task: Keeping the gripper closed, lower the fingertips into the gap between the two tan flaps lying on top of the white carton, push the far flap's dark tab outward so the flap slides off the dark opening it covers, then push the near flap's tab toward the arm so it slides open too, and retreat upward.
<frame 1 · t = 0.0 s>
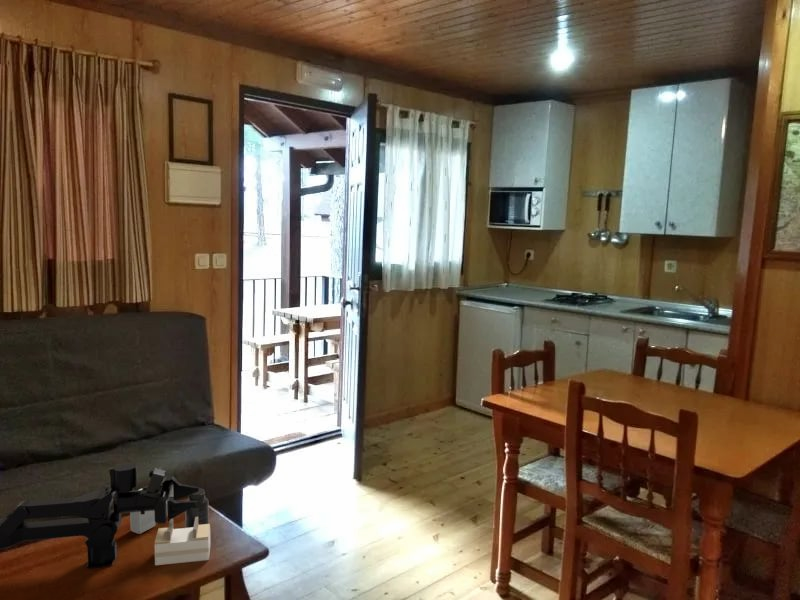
hand: (197, 496, 173), 17 cm above the table, tool horizontal, fingers open, 9 cm apart
flap near: (164, 530, 171), point 8 cm above the table, slide at 0.0 cm
carton: (183, 555, 174), on the table
supplement bottle: (197, 529, 189), on the table
skincare box: (143, 529, 188), on the table
flap far: (201, 527, 174), point 8 cm above the table, slide at 0.0 cm
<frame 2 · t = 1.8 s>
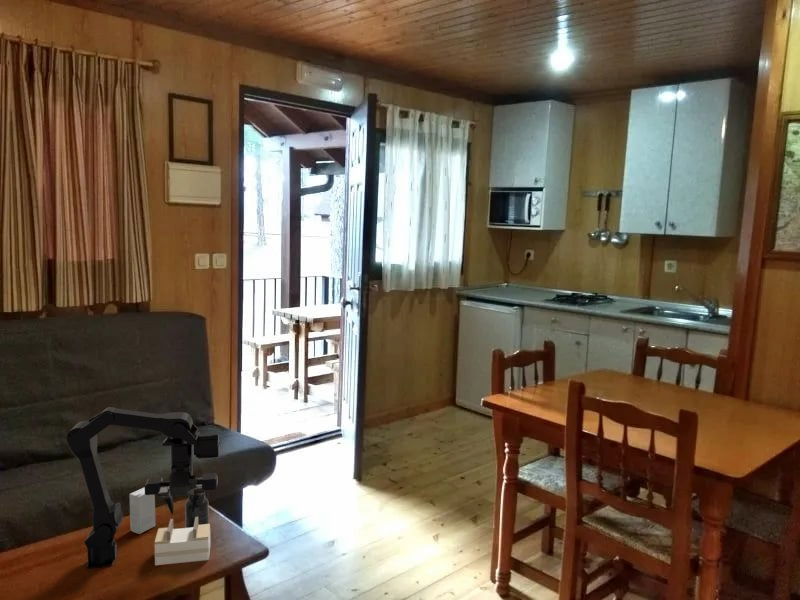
hand: (182, 512, 172), 13 cm above the table, tool pointing down, fingers open, 5 cm apart
nothing on the table moved.
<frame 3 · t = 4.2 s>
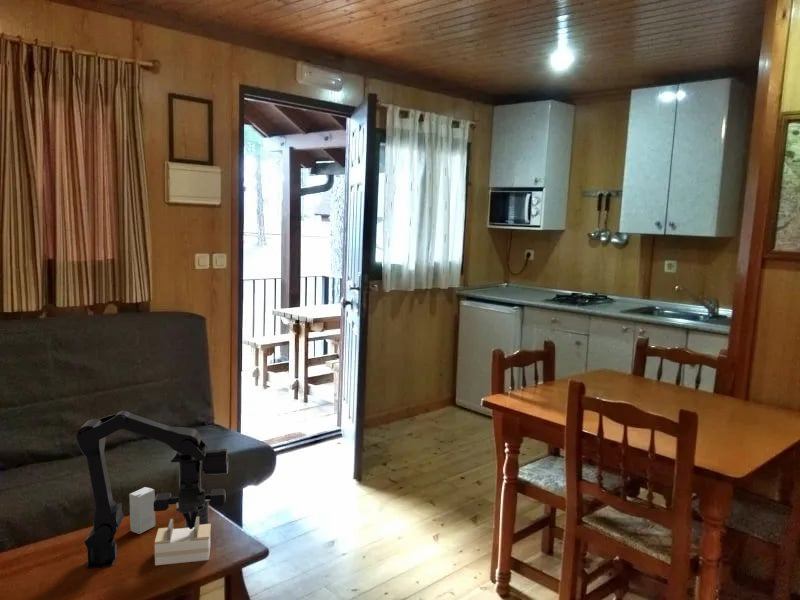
hand: (191, 528, 173), 8 cm above the table, tool pointing down, fingers closed
flap far: (202, 527, 174), point 8 cm above the table, slide at 0.3 cm, touching gripper
everything else where it was.
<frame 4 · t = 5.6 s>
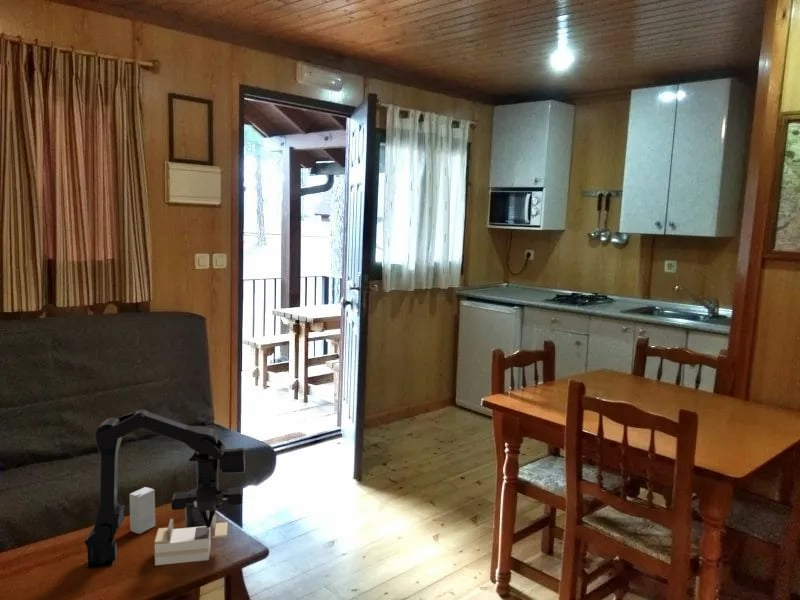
hand: (208, 526, 174), 8 cm above the table, tool pointing down, fingers closed
flap far: (219, 525, 175), point 8 cm above the table, slide at 4.9 cm, touching gripper
everything else where it was.
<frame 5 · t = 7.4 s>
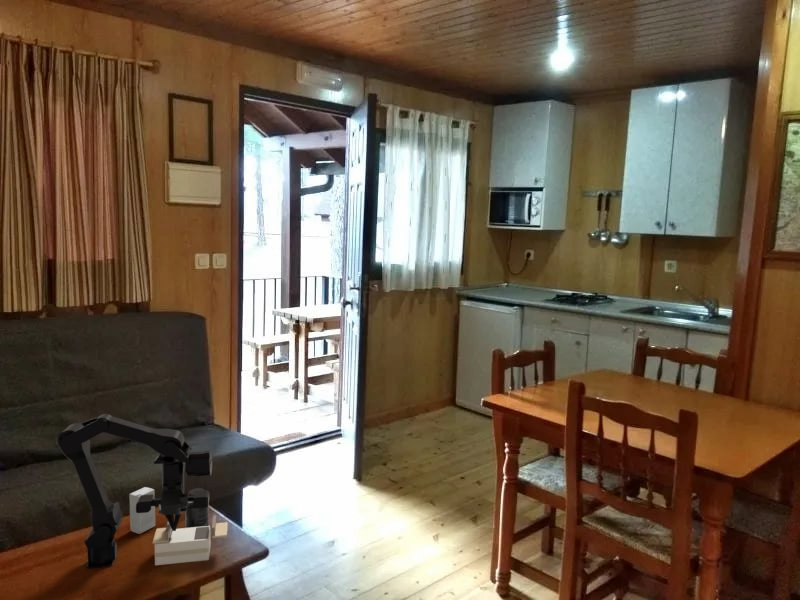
hand: (174, 530, 172), 8 cm above the table, tool pointing down, fingers closed
flap near: (162, 531, 171), point 8 cm above the table, slide at 0.5 cm, touching gripper
flap far: (219, 525, 175), point 8 cm above the table, slide at 4.9 cm
everything else where it was.
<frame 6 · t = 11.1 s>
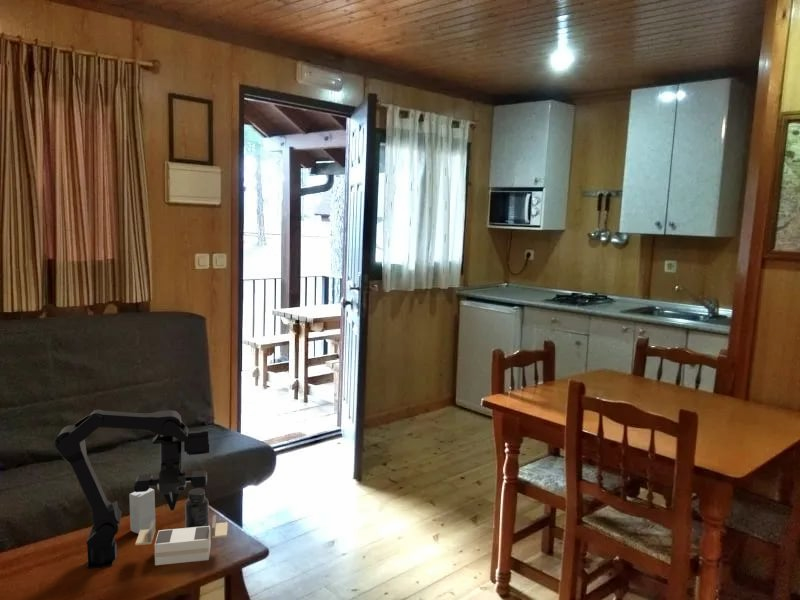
hand: (172, 509, 174), 12 cm above the table, tool pointing down, fingers closed
flap near: (145, 532, 170), point 8 cm above the table, slide at 4.9 cm
everything else where it was.
at the end: flap far slide at 4.9 cm; flap near slide at 4.9 cm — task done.
